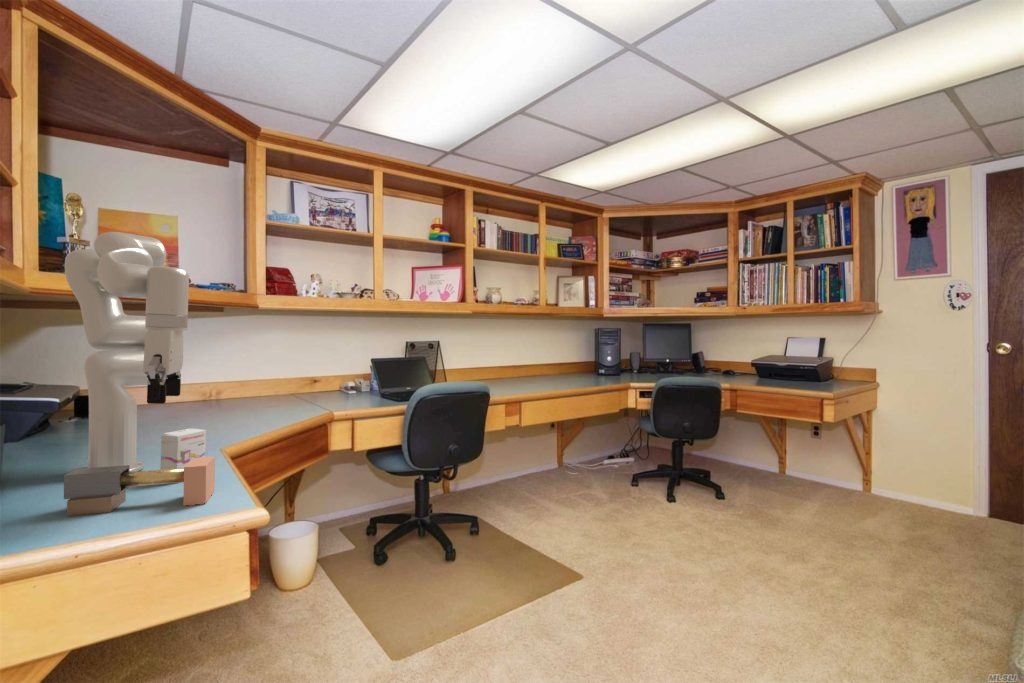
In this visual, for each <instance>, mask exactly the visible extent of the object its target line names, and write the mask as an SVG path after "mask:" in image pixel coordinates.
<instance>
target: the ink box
mask: <svg viewBox="0 0 1024 683" xmlns="http://www.w3.org/2000/svg"><path fill="white" fill-rule="evenodd" d="M160 438H161V441H160V442H161V443H160V444H161V445H160V469H159V470H164V469H178V468H184V467H185V466H186V465H187V464H188V463H189V462H191V461H192V460H193V459H194V458H201V457H206V444H207V429H201V428H192V427H191V428H185V429H184V428H183V429H179V430H175V431H169V432H164V433H163V434H162V435H161V437H160Z"/></svg>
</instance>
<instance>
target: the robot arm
mask: <svg viewBox="0 0 1024 683" xmlns="http://www.w3.org/2000/svg"><path fill="white" fill-rule="evenodd" d="M93 248H94V249H90V248H89V249H87V248H86V249H85V248H84V249H83V248H82V249H75V250H72V251H71V252H69V253H68V254H67V255H66V257H65V259H64V272H65V273H64V274H65V278H66V281H67V282H66V283H67V284H68V286H69V289H70V290H71V292H72V293H73V295H74V296H75V298H76V300H77V302H78V305H79V307H80V311H81V316H82V322H83V328H84V333H85V338H86V340H87V342H88V345H89V346H90V347H92V348H94V349H96V350H99V351H97V352H93V353H91V354H90V355H88V356H87V357H86V358H85V361H84V365H83V367H84V376H85V380H86V386H87V391H88V392H87V394H88V454H87V455H88V456H87V457H86V459H87V461H88V466H87V467H86V468H95V467H110V466H125V465H129V472H136V471H142V470H143V469H144V468H145V466H144V465H145V464H144V462H142V461H139V460H137V456H138V455H137V448H138V447H137V446H138V445H137V441H138V404H137V401H136V399H135V397H134V396H133V395H132V394H130V392H129V391H127V389H126V387H134V386H135V387H136V386H145V385H146V386H147V389H146V391H147V392H146V403H147V404H149V405H153V404H156V405H157V404H162V405H163V404H166V401H167V397H179V396H181V387H182V386H181V384H182V383H181V382H182V381H181V380H182V379H181V378H182V373H181V370H182V369H183V364H184V334H183V333H184V332H183V331H188V321H189V320H188V319H189V318H188V317H189V316H188V315H189V295H190V294H189V290H190V289H189V288H190V287H189V286H190V274H189V272H188V271H187V270H186V269H183V268H182V267H181V268H180V267H176V266H175V267H172V266H164V264H165V262H166V261H167V260H166V259H167V251H166V250H167V249H166V248H165V245H164V244H163V243H162V241H160V240H159V239H158V238H155V237H151V236H147V235H138V234H134V233H129V232H128V233H126V232H120V231H107V232H104V233H101V234H99V235H98V236H97V237H96V238H95V240H94V242H93ZM120 298H125V299H126V298H128V299H131V298H132V299H145V315H132V314H131V315H130V314H126V313H125V312H124V308H123V303H122V301H121V299H120Z"/></svg>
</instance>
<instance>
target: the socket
mask: <svg viewBox="0 0 1024 683" xmlns="http://www.w3.org/2000/svg"><path fill="white" fill-rule="evenodd" d="M215 473H216V456H205V457H201V458H194V459H193V460H192V461H191V462H189V463H188V464H187V465H186V466H185V467H184V482H183V507H186V506H185V505H189V506H196V505H195V504H200V505H205V504H204V503H206V502H207V503H208V502H209V500H210V499H211V498H212V496H213V495H214V494H215V492H214V491H215V490H216V489H215V488H216V483H215V482H216V474H215ZM213 493H214V494H213ZM212 494H213V495H212ZM211 495H212V496H211ZM209 498H210V499H209ZM207 503H206V504H207Z"/></svg>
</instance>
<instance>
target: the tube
mask: <svg viewBox="0 0 1024 683" xmlns="http://www.w3.org/2000/svg"><path fill="white" fill-rule="evenodd" d="M178 483H179V484H180V483H184V468H178V469H164V470H160V469H152V470H139V471H136V472H122V473H121V487H129V488H131V487H139V486H140V487H142V486H154V485H166V484H178Z"/></svg>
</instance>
